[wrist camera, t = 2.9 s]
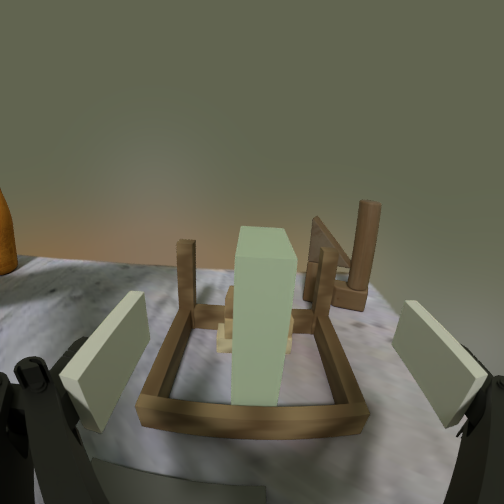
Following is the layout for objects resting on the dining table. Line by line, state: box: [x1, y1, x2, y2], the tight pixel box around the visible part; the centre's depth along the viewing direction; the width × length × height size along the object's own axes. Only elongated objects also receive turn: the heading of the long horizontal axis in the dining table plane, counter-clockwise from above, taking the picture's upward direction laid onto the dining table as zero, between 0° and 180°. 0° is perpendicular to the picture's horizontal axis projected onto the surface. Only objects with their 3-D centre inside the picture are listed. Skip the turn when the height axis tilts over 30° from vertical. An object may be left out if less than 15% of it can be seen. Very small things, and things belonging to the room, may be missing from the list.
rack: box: [135, 239, 370, 440], centre depth 28 cm, size 20×20×12 cm
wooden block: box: [303, 200, 381, 312], centre depth 45 cm, size 4×11×18 cm, turn 67°
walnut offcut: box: [225, 286, 234, 319], centre depth 33 cm, size 7×4×3 cm, turn 86°
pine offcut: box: [217, 323, 292, 354], centre depth 35 cm, size 9×4×3 cm, turn 92°
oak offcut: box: [224, 314, 294, 339], centre depth 34 cm, size 8×4×3 cm, turn 95°
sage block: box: [231, 226, 298, 407], centre depth 25 cm, size 4×9×16 cm, turn 0°
